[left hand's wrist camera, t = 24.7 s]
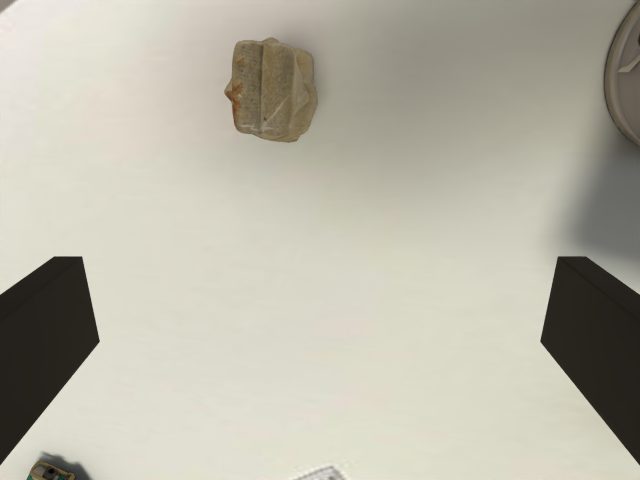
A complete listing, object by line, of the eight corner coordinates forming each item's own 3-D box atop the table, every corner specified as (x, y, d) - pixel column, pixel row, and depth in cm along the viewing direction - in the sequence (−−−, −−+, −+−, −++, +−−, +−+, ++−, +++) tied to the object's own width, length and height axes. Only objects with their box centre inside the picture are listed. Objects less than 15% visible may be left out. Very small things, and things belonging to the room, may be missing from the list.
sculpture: (325, 53, 37) (326, 44, 23) (311, 140, 40) (305, 179, 26) (255, 41, 37) (214, 24, 23) (246, 129, 39) (203, 162, 25)
